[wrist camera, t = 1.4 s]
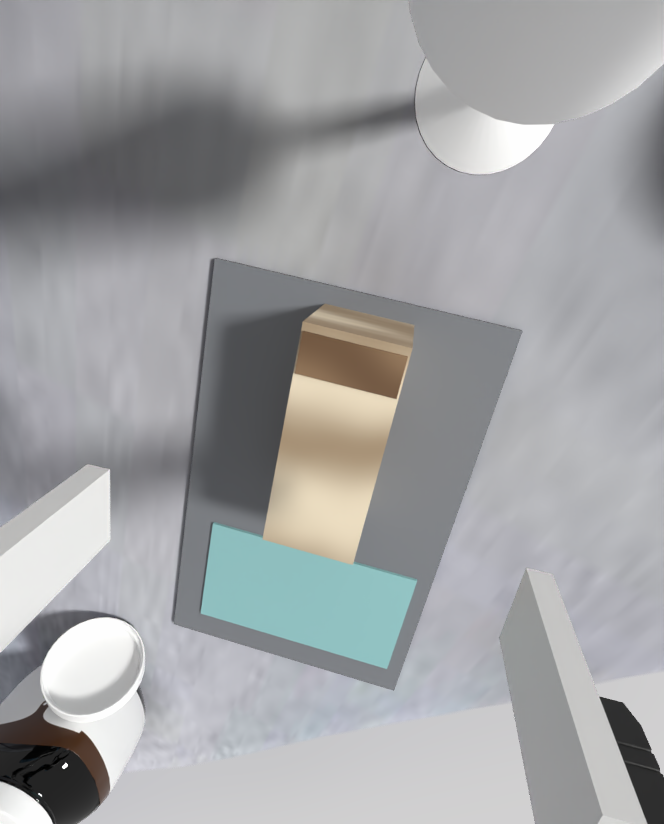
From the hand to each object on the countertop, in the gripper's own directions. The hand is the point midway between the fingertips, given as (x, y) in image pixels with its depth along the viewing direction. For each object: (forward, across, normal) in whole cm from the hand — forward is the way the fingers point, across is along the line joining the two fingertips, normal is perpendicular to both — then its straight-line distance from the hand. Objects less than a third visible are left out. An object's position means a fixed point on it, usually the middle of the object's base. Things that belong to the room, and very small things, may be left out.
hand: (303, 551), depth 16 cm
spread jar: (+15, -16, -27) cm, 35 cm away
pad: (+14, -1, -15) cm, 21 cm away
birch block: (+14, 0, -1) cm, 15 cm away
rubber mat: (+15, -1, -8) cm, 17 cm away
